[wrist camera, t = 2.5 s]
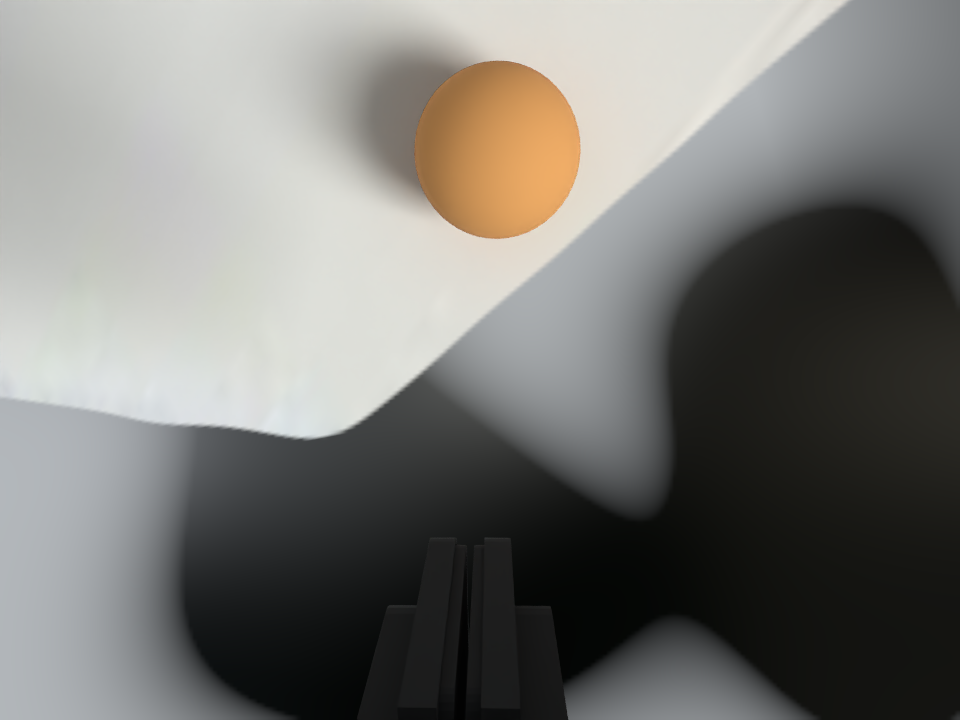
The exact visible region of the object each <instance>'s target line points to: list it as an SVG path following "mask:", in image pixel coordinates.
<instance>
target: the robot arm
mask: <svg viewBox="0 0 960 720" xmlns="http://www.w3.org/2000/svg"><path fill="white" fill-rule="evenodd" d="M473 563H474V564H473V581H472V600H471V619H470V637H468V589H467V547H466V545H457V539H456V538H430V541H429V546H428V551H427V556H426V561H425V566H424V571H423V577H422V582H421V587H420V592H419V597H418V602H417V605H389V606H388V608H387V610H386V614H385V617H384V621H383V625H382V628H381V632H380V636H379V640H378V643H377V647H376V651H375V654H374V658H373V662H372V665H371V669H370V673H369V677H368V680H367V684H366V688H365V691H364V695H363V699H362V703H361V706H360V710H359V714H358V717H357V720H568V716H567V709H566V703H565V696H564V689H563V683H562V676H561V670H560V663H559V656H558V650H557V644H556V637H555V630H554V623H553V617H552V611H551V608H550V606H514V590H513V573H512V555H511V539H510V538H485V545H475V546H474V562H473ZM468 640H469V641H468Z"/></svg>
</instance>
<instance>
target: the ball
mask: <svg viewBox="0 0 960 720" xmlns="http://www.w3.org/2000/svg"><path fill="white" fill-rule="evenodd" d="M414 156H415V165H416V170H417V175H418V178H419V181H420V184H421V187H422V189H423V191H424V193H425V195H426V197H427V199H428V200H429V202H430V203H431V204H432V206H433V207H434V208H435V210H436V211H437V212H438V213H439V214H440V215H441V216H442V217H443V218H444V219H445V220H447V221H448V222H449V223H451V224H452V225H454V226H455V227H456V228H458V229H460V230H462V231H464V232H466V233H469V234H472V235H475V236H479V237H484V238H494V239H500V238H509V237H514V236H518V235H521V234H524V233H527V232H529V231H531V230H533V229H535V228H537V227H538V226H540V225H541V224H543V223H544V222H545V221H547V220H548V219H549V218H550V217H551V216H552V215H553V214H554V213H555V212H556V211H557V210H558V209H559V208H560V206H561V205H562V204H563V202H564V201H565V199H566V198H567V196H568V194H569V192H570V190H571V188H572V186H573V184H574V181H575V178H576V176H577V171H578V167H579V161H580V137H579V130H578V126H577V123H576V119H575V116H574V114H573V112H572V109H571V107H570V105H569V104H568V102H567V100H566V99H565V97H564V96H563V94H562V93H561V92H560V90H559V89H558V88H557V87H556V86H555V85H554V84H553V83H552V82H551V81H550V80H549V79H548V78H546V77H545V76H543V75H542V74H541V73H539V72H537V71H536V70H534V69H532V68H530V67H527V66H524V65H522V64H519V63H514V62H509V61H489V62H483V63H479V64H474V65H472V66H469V67H467V68H464V69H463V70H461V71H459V72H457V73H456V74H454V75H453V76H451V77H450V78H449V79H447V80H446V81H445V82H444V83H443V84H442V85H441V86H440V87H439V88H438V89H437V90H436V91H435V93H434V94H433V95H432V97H431V98H430V100H429V101H428V103H427V105H426V107H425V108H424V111H423V113H422V115H421V118H420V120H419V124H418V128H417V131H416V138H415V152H414Z"/></svg>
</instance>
